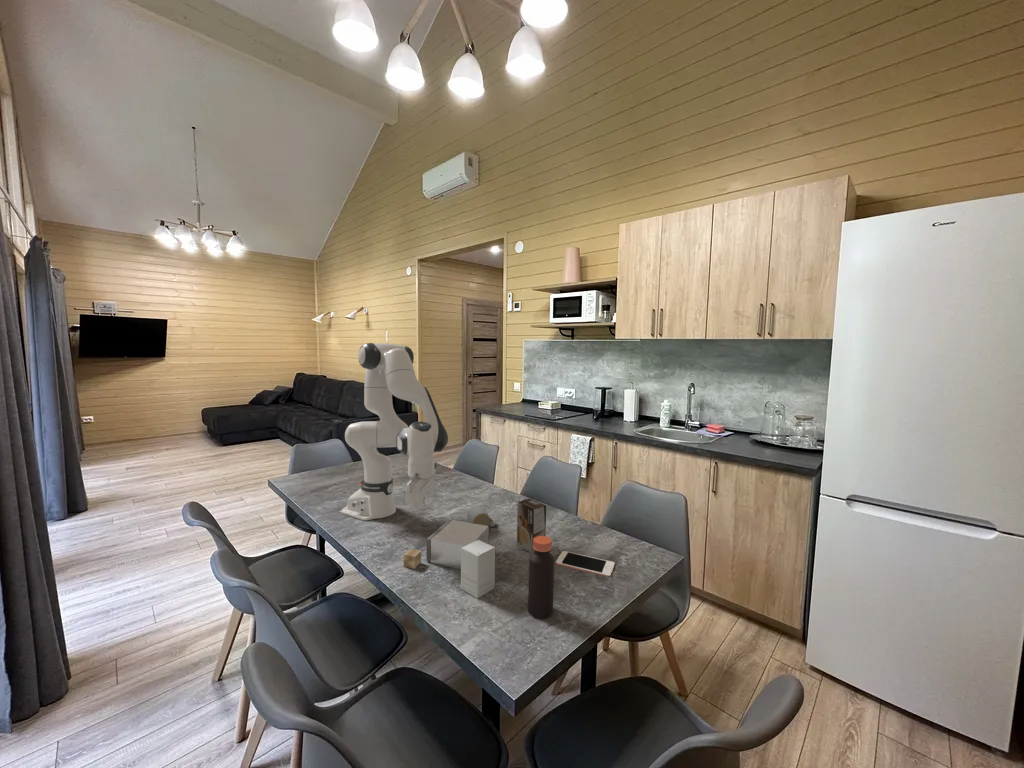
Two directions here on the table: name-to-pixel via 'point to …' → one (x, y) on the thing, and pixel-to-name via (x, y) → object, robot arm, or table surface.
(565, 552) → the cell phone
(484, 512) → the ceramic mug
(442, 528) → the tray
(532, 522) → the coffee box
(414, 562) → the block
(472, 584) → the supplement box
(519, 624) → the table surface
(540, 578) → the bottle
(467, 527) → the housing
